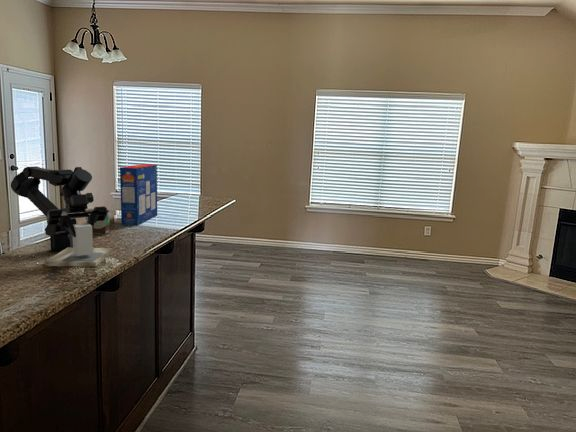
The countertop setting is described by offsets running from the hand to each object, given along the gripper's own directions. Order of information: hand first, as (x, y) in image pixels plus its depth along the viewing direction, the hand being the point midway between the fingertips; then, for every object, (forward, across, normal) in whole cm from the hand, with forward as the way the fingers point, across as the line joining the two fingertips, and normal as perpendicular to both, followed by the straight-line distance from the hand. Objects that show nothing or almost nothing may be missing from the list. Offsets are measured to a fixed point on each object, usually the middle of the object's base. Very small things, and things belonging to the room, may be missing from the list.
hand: (83, 235), depth 143 cm
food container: (-23, +19, +37) cm, 47 cm away
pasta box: (-36, +44, +50) cm, 76 cm away
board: (+3, 0, +10) cm, 11 cm away
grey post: (+4, 0, +6) cm, 7 cm away
